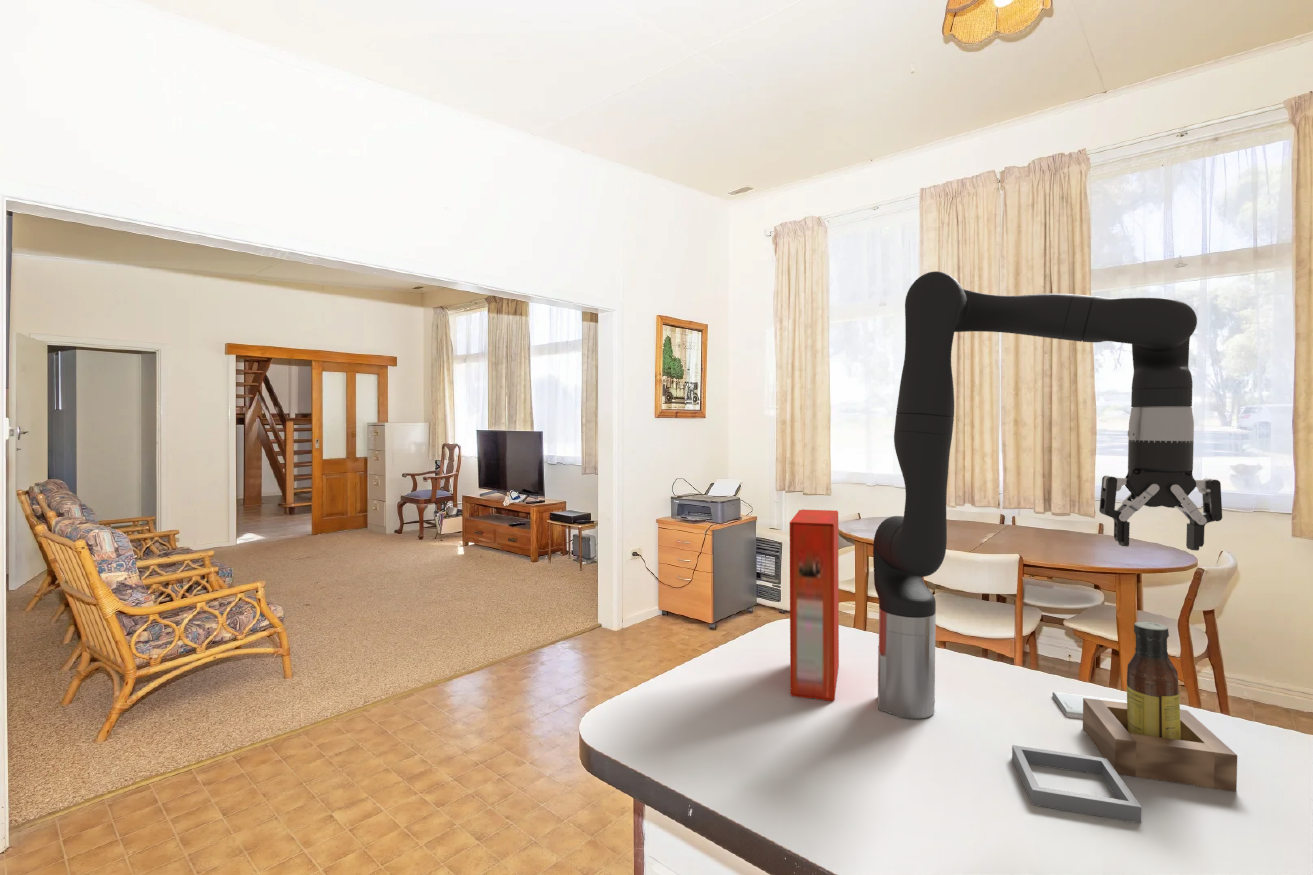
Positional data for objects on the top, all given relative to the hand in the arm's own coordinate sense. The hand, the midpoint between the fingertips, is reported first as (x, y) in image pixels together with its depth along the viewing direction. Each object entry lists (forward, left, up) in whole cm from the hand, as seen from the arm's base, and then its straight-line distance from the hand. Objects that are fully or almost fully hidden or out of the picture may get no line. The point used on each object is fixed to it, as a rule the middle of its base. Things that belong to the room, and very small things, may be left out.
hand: (1157, 547), depth 93 cm
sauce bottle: (0, 0, -32) cm, 32 cm away
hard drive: (-2, +15, -32) cm, 36 cm away
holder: (0, 0, -32) cm, 32 cm away
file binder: (-50, +13, -32) cm, 61 cm away
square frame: (-14, -13, -32) cm, 37 cm away
